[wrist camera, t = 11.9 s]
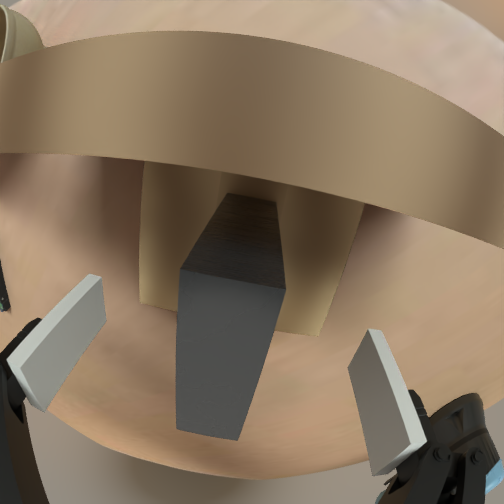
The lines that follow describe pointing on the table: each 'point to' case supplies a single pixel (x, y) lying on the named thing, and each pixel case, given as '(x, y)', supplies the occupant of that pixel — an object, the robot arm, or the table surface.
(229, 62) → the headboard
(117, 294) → the table surface
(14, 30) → the planter bowl
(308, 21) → the table surface
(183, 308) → the grey slab
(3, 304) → the disk drive
